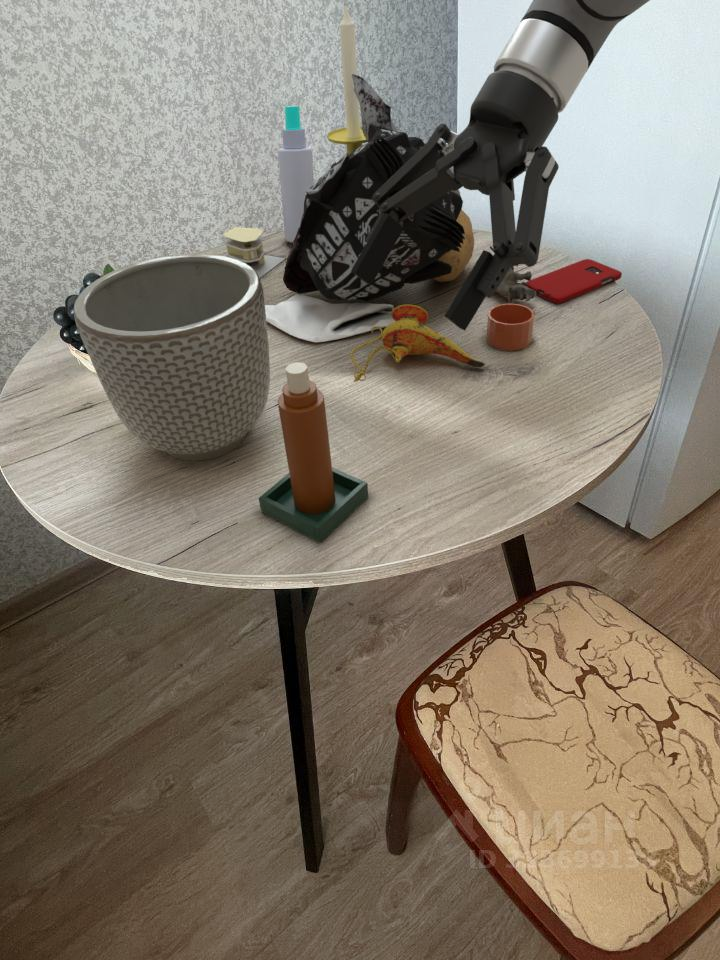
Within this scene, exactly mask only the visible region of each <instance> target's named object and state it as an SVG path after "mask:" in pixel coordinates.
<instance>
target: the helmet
mask: <svg viewBox="0 0 720 960" xmlns="http://www.w3.org/2000/svg"><path fill="white" fill-rule="evenodd" d="M351 76H352V79H353V83H354V92H355V94H356V97H357V99H358V101H359V111H360V118H361V126H362V131H363V134H364V136H365V138H366V140H367V141H368V142H366V143H363V144H362V146H360V147H359V148H358V149H356V150H355V151H353V153H350V155H349V154H348V153H347V152H346V153H345V154H344V155H342V156H341V157H340V158H339V160H338V161H337V162H336V161H335V162H333V163H332V164H331V166H330V168H328V169H327V170H326V171H325V172H324V173H323V174H322V175H321V176H320V177H318V179H317V180H315V181H314V184H313V185H312V186H311V187H310V188H309V189H308V190H307V191H306V193H307V194H306V196H305V201H304V213H303V215H302V219H301V224H300V227H299V228H298V231H297V234H296V237H295V239H294V241H293V243H292V247H291V249H290V251H289V253H288V255H287V257H286V262H285V266H284V271H283V277H282V281H283V283H284V286H285V287H286V289H288V290H289V291H290V292H293V293H295V294H309V293H313V292H319V293H320V294H321V295H322V296H323V297H324V298H325V299H326V300H330V301H335V302H336V301H339V302H347V301H348V302H349V301H353V300H359V301H363V302H369V301H372V300H376V299H378V298H382V297H384V296H386V295H388V294H390V293H393V292H396V291H398V290H401V289H402V288H403V287H405V285H406V284H409V285H412V284H413V285H414V284H418V283H422V282H425V281H429V280H433V279H432V278H436V277H440V276H443V275H446V274H450V273H451V270H452V266H451V265H450V264H448V263H445V262H442V261H439V260H438V259H439V258H441V257H442V256H443V255H444V254H445V253H447V252H449V251H450V250H454V251H458V252H460V250H459V248H458V247H461V244H460V243H462V244H464V243H463V239H465V238H464V236H463V234H465V232H464V228H463V226H462V225H461V224H459V223H458V222H457V221H456V220H457V218H458V216H459V214H460V211H461V210H463V205H464V201H463V198H462V196H461V191H460V189H458V190H456V191H453V190H450V191H448V192H447V193H445V194H444V195H442V196H441V197H439V198H437V199H436V200H434V201H433V202H431V203H430V204H428V205H427V206H425V207H423V208H422V209H420V210H419V211H417V212H416V213H414V214H413V215H411V216H410V217H408V218H406V219H405V220H403V221H402V224H403V225H402V226H403V228H404V229H403V231H402V233H401V235H400V236H399V238H398V240H397V241H396V243H395V245H394V247H393V248H392V250H391V252H390V254H389V255H388V257H387V259H386V261H385V262H384V264H383V266H382V267H381V269H380V271H379V273H378V274H377V276H376V278H375V280H374V281H373V283H372V285H369V284H367V283H366V282H364V281H363V280H362V279H360V278H359V277H358V276H357V275H355V274H354V273H353V272H351V270H352V268H353V266H354V265H355V263H356V261H357V259H358V258H359V256H360V254H361V252H362V251H363V249H364V247H365V245H366V244H367V242H366V239H367V236H368V234H369V232H370V231H371V229H372V227H373V225H374V224H375V222H376V220H377V218H378V217H379V215H380V209H379V207H378V206H377V205H376V203H375V202H373V201H372V196H373V194H374V193H375V192H376V191H377V190H378V189H379V188H380V187H381V186H382V185H383V184H384V183H385V182H386V181H387V180H388V179H390V178H391V177H392V176H393V175H394V174H395V173H396V172H397V171H398V170H399V169H400V168H401V167H402V166H403V165H404V164H405V163H406V162H407V161H408V160H409V159H410V158H411V157H412V156H413V155H414V154H416V153H417V152H418V151H419V150H420V149H421V148H422V147H423V146H424V145H425V144H426V143H425V141H424V140H423V139H422V138H419V137H417V136H409V135H408V134H407V132H406V131H405V132H404V131H399V129H398V128H397V127H396V125H395V124H394V122H393V119H392V116H391V115H392V114H391V110H392V108H391V106H390V105H389V104H387V103H386V102H385V101H384V100H383V98H382V97H381V96H380V95H379V94H378V92H377V91H376V90H375V89H374V88H373V87H372V86H371V85H370V84H369V83H368V82H367V81H366V80H365V78H364V77H362V76H360V75H358V74H357V75H354V74H352V75H351ZM387 198H388V199H389V198H390V197H389V196H387ZM397 209H400V207H397ZM461 248H462V247H461Z"/></svg>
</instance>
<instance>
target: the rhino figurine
mask: <svg viewBox="0 0 720 960" xmlns="http://www.w3.org/2000/svg"><path fill="white" fill-rule="evenodd" d="M519 265H520V264H518V265H515V266H513V267H511V268H510V269H509V270H508V272H507V274H506V275H505V277H504V279H503V280H502V282H501V283H500V285H499V287H498V289H497V290H496V292H495V293H497V294H498V295H500V296H502V297H505V298H507V304H508V303H510V304H513V300H520V301H525V302H529V301H531V300H534V299H535V297H536V296H537V295H536V292H535V291H534V290H533V289H530V288H528V287H527V283H525V282H526V281H530V280H532V276H533V274H532V272H531V270H528V271H526V272H523V273H519V272H516V271H515V267H518V266H519ZM523 280H525V281H523ZM518 281H522V282H518Z"/></svg>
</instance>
